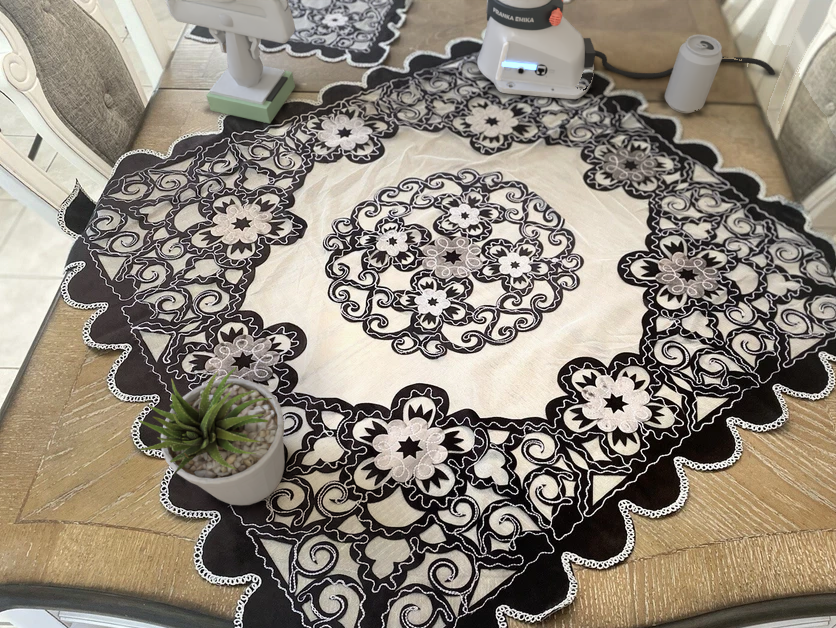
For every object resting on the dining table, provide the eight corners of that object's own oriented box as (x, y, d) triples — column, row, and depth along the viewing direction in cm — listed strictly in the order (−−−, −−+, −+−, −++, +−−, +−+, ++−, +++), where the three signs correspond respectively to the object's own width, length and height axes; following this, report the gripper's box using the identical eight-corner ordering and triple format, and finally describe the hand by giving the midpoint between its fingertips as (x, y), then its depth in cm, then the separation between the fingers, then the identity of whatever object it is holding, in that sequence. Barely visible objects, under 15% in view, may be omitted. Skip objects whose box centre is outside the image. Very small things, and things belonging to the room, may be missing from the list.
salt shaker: (269, 72, 118) (253, -2, 108) (260, 92, 115) (242, 18, 104) (236, 68, 118) (217, -6, 108) (227, 88, 115) (205, 14, 104)
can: (711, 107, 126) (734, 48, 116) (682, 120, 124) (704, 60, 114) (683, 86, 130) (704, 26, 120) (654, 98, 127) (673, 38, 117)
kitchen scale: (295, 86, 122) (291, 68, 119) (270, 123, 116) (265, 105, 113) (238, 74, 123) (233, 56, 120) (210, 110, 117) (205, 92, 114)
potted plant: (191, 428, 84) (132, 336, 67) (304, 424, 85) (273, 332, 69) (174, 525, 77) (103, 450, 60) (296, 520, 78) (260, 444, 62)
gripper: (292, -29, 102) (307, 56, 114) (168, -53, 104) (194, 32, 115) (275, -8, 99) (292, 77, 110) (147, -34, 100) (176, 52, 112)
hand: (241, 54), depth 113 cm, fingers open, 3 cm apart
